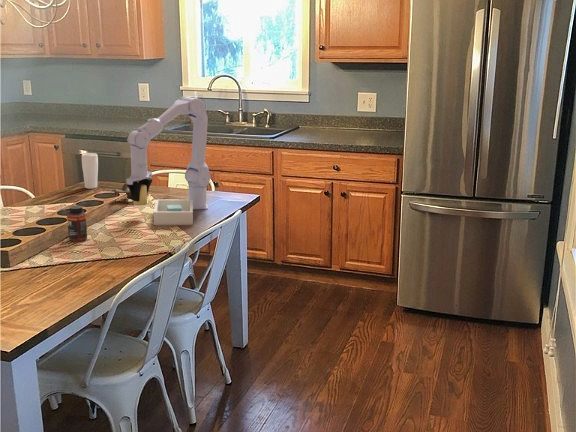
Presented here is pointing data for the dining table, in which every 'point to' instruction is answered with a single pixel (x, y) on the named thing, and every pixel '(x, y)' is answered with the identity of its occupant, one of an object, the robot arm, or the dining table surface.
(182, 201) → the grey tote
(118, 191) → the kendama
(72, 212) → the supplement bottle
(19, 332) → the dining table surface
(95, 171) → the drinking glass
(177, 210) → the teal cube
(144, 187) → the mustard cylinder
